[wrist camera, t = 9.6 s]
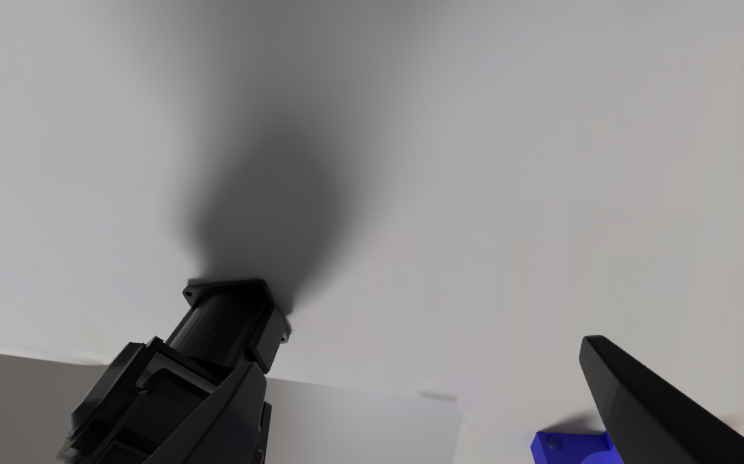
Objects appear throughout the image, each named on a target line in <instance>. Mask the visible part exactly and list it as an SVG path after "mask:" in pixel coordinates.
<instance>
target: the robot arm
mask: <svg viewBox="0 0 744 464" xmlns="http://www.w3.org/2000/svg"><path fill="white" fill-rule="evenodd" d="M258 286H259V287H258ZM182 293H183V295H184V297H185V298H186V300H187V301H188V303H189V305H190V306H191V309H190V310H189V311H188V313H187V314H186V315H185V317H184V318H183V319H182V321H181V322H180V323H179V325H178V326H177V327H176V329H175V330H174V331H173V333H172V334H171V335H170V337H169V338H168V339H167V341H166V342H165V343H164V342H163V341H164V340H162V339H160V338H159V337H157V336H155V337H154V338H152V339H151V340H150V341H149V342H148V343H147V344H144V343H133V342H129V343H128V344H127V345H126V346H125V347H124V348H123V350H122V351H121V352H120V353H119V354H118V355H117V356H116V358H115V359H114V360H113V361H112V362H111V363H110V365H109V366H108V367H107V368H106V369H105V371H104V372H103V373H102V374H101V376H100V377H99V378H98V379H97V381H96V382H95V383H94V385H93V386H92V387H91V388H90V390H89V391H88V392H87V394H86V395H85V396H84V398H83V399H82V400H81V401H80V403H79V404H78V405H77V407H76V408H75V409H74V411H73V412H72V413H71V419H72V429H71V430H70V432H69V433H68V435H67V437H66V439H67V440H66V442H65V443H64V445H63V446H62V448H61V449H60V451H59V452H58V454H57V456H56V459H58V460H60V461H63V462H65V464H264V463H265V455H266V448H267V440H268V432H269V424H270V417H271V409H272V405H271V404H269V403H267V402H266V401H264V397H265V392H266V386H267V384H266V383H267V382H266V378H265V376H264V374H267V373H268V372H269V371H270V368H271V366H272V363H273V361H274V358H275V355H276V353H277V350H278V348H279V345H280V344H283V343H287V342H288V339H289V334H288V331H287V329H286V325H285V323H284V321H283V319H282V317H281V314H280V312H279V310H278V308H277V306H276V305H275V303H274V301H273V299H272V297H271V294H270V292H269V290H268V288H267V286H266V284H265V282H264V281H262V280H260V279H253V280H243V281H232V282H221V283H211V284H200V285H190V286H187V287H186V288H185V289H184V290H183V292H182ZM579 361H580V365H581V368H582V370H583V373H584V375H585V378H586V380H587V383H588V386H589V388H590V391H591V393H592V396H593V398H594V401H595V403H596V406H597V408H598V411H599V413H600V416H601V418H602V421H603V423H604V426H605V428H606V430H607V432H608V434H609V436H610V438H611V440H612V442H613V444H614V446H615V448H616V450H617V452H618V454H619V456H620V458H621V460H622V461H623V463H624V464H744V437H743V436H742V435H740V434H739V433H738V432H736V431H735V430H733V429H732V428H731V427H729V426H728V425H727V424H725V423H724V422H722V421H721V420H720V419H718V418H717V417H715V416H714V415H713V414H711V413H710V412H708V411H707V410H706V409H704V408H703V407H702V406H700V405H699V404H697V403H696V402H695V401H693V400H692V399H690V398H689V397H688V396H686V395H685V394H684V393H682V392H681V391H679V390H678V389H677V388H675V387H674V386H672V385H671V384H670V383H668V382H667V381H666V380H664V379H663V378H661V377H660V376H659V375H657V374H656V373H654V372H653V371H652V370H650V369H649V368H647V367H646V366H645V365H643V364H642V363H641V362H639V361H638V360H636V359H635V358H634V357H632V356H631V355H629V354H628V353H627V352H625V351H624V350H623V349H621V348H620V347H618V346H617V345H616V344H614V343H613V342H611V341H610V340H609V339H607V338H606V337H604V336H602V335H590V336H585V337H584V338H583V339H582V344H581V349H580V355H579Z"/></svg>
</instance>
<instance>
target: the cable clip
mask: <svg viewBox="0 0 744 464" xmlns="http://www.w3.org/2000/svg"><path fill="white" fill-rule="evenodd" d="M531 451H532V454H533V457H534V461H535V464H624V463H623V461H622V460H621V458H620V456H619V454H618V452H617V450H616V448H615V446H614V444H613V442H612V440H611V438H610V436H609V434H608V432H607V430H606V431H605V433H604V434H603V436H597V435H580V434H563V433H546V432H537V433H536V435H535V438H534V440H533V442H532V445H531Z"/></svg>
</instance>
